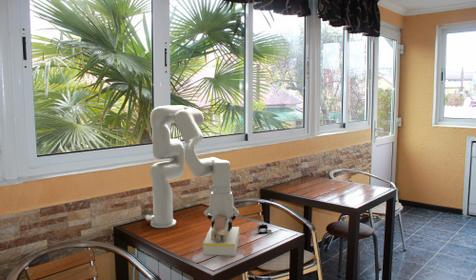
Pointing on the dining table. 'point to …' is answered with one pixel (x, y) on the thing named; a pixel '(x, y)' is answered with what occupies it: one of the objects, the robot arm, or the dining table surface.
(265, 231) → the black piece
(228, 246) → the dock
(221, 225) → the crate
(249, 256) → the dining table surface
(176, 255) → the dining table surface
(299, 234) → the dining table surface
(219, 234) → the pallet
